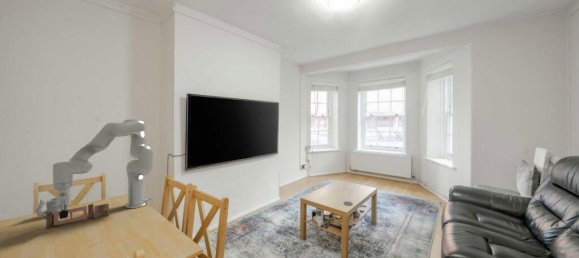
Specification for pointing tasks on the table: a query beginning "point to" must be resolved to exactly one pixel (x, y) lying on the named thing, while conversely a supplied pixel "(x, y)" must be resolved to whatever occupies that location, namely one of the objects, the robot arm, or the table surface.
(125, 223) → the table surface
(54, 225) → the gate
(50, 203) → the mug
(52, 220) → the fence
